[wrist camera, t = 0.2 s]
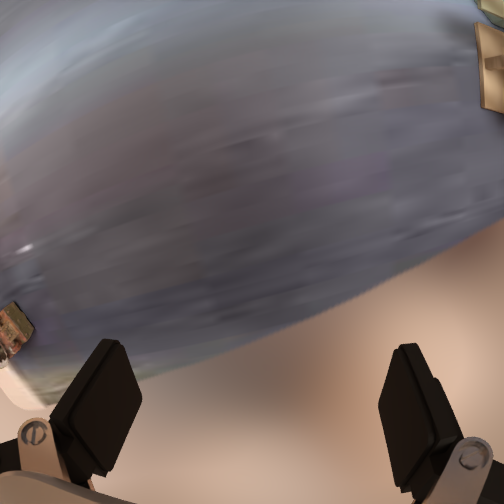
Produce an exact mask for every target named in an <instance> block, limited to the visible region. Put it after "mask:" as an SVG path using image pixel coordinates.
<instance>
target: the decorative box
mask: <svg viewBox="0 0 504 504" xmlns="http://www.w3.org/2000/svg"><path fill="white" fill-rule="evenodd" d="M33 330H34V327H33V326H32V325H31V324H30V322H29V321H28V320H27V319H26V315H25V314H24V313H23V312H21V311H20V310H19V308H18V307H17V306H16V304H15V303H14V302H12V303H11V304H9V305H7V306H6V307H5V308H4V309H3V310H2V311H1V312H0V369H2V368H4V367H6V366H7V365H8V363H9V362H8V359H10V358H11V357H12V356H14V354H16V353H17V351H19V350H20V347H21V345H22V344H23V343H25V342H26V341H28V339H29V338H30V337H31V334H32V332H33Z"/></svg>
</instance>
